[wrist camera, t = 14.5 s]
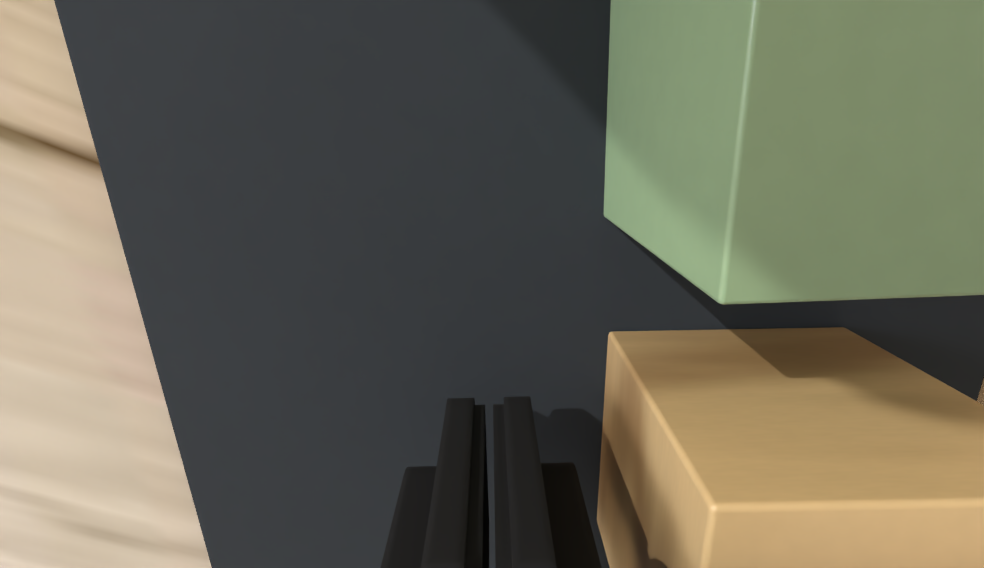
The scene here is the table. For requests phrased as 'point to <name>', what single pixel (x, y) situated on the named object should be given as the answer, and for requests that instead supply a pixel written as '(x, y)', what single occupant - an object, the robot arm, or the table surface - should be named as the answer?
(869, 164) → the green block
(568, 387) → the mat
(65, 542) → the table surface
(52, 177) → the table surface
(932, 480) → the maple block
